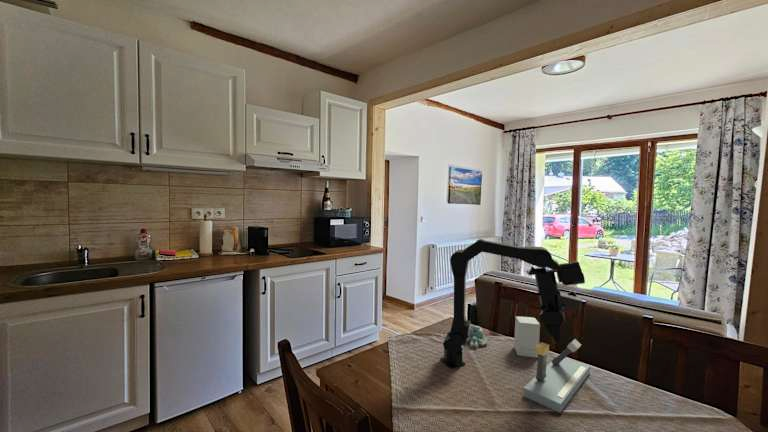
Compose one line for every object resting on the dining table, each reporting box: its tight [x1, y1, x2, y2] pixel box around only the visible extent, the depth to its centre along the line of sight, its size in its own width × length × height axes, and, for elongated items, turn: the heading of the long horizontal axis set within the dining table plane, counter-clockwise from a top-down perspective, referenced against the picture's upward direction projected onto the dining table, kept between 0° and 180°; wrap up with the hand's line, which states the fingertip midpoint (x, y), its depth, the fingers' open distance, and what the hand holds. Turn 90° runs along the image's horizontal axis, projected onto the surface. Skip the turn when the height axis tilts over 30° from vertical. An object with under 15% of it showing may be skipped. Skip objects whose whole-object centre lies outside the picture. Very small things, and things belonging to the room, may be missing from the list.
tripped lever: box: [535, 341, 550, 382], centre depth 98 cm, size 2×4×11 cm, turn 134°
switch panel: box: [522, 354, 591, 413], centre depth 101 cm, size 10×30×3 cm, turn 134°
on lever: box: [551, 338, 582, 366], centre depth 106 cm, size 2×4×11 cm
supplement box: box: [513, 315, 541, 359], centre depth 122 cm, size 7×7×13 cm
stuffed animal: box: [465, 324, 489, 348], centre depth 129 cm, size 11×7×12 cm
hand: (558, 337), depth 99 cm, fingers open, 9 cm apart
